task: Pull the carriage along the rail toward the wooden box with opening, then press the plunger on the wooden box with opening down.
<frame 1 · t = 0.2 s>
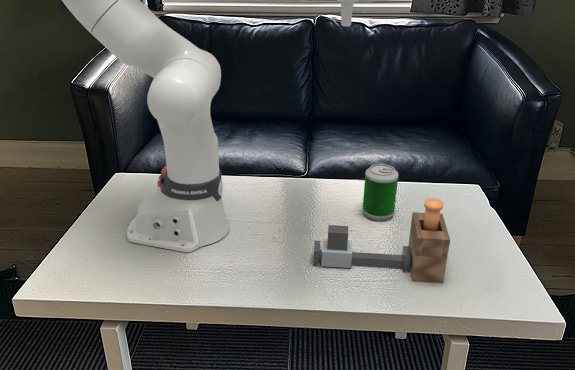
hand: (346, 20, 103), 47 cm above the table, fingers open, 8 cm apart
rail: (360, 263, 116), on the table
wooden box with opening: (424, 267, 115), on the table
plunger: (431, 216, 110), point 12 cm above the table, slide at 0.0 cm
soda can: (377, 215, 135), on the table
carriage: (337, 245, 115), point 4 cm above the table, slide at -5.0 cm
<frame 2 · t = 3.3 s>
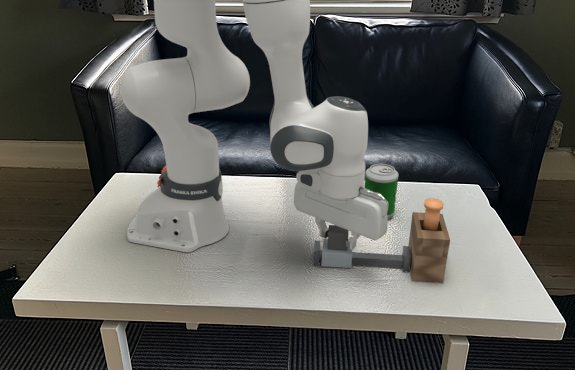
hand: (337, 241, 114), 5 cm above the table, fingers closed on carriage, 5 cm apart
carriage: (337, 245, 115), point 4 cm above the table, slide at -4.9 cm, touching gripper
everything else where it was.
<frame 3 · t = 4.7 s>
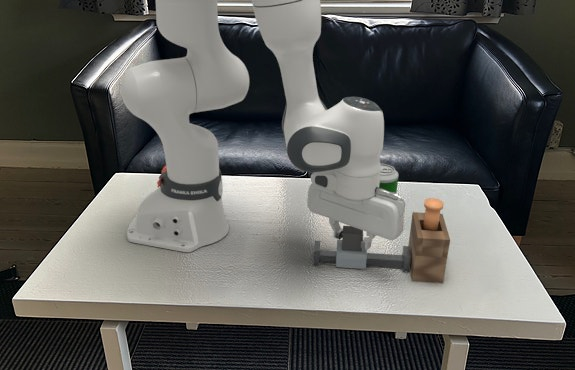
hand: (351, 242, 114), 5 cm above the table, fingers closed on carriage, 5 cm apart
carriage: (351, 245, 115), point 4 cm above the table, slide at -2.0 cm, touching gripper
everything else where it was.
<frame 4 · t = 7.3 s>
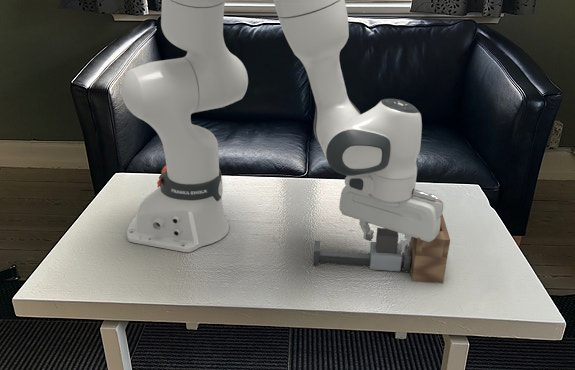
hand: (385, 244, 114), 5 cm above the table, fingers open, 6 cm apart
carriage: (386, 248, 114), point 4 cm above the table, slide at 4.8 cm
everything else where it was.
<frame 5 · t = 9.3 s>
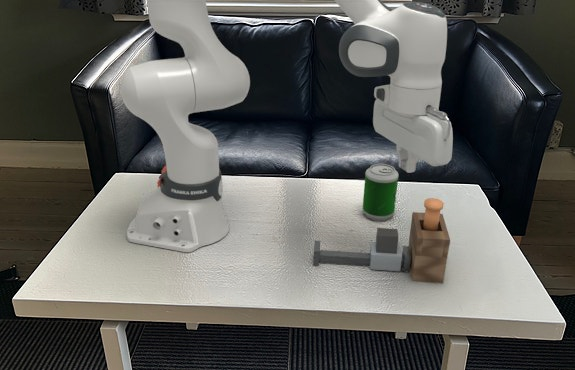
hand: (406, 169, 106), 22 cm above the table, fingers closed
nothing on the table moved.
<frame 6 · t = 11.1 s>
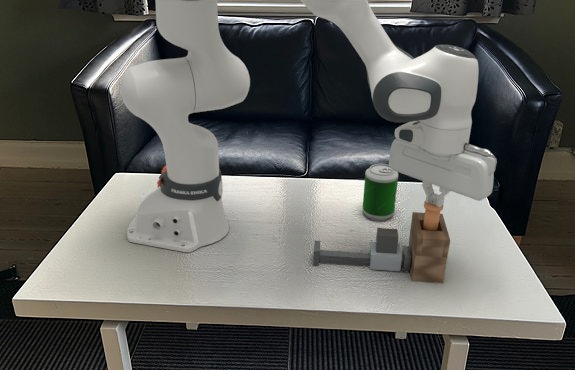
hand: (434, 204, 108), 15 cm above the table, fingers closed
plunger: (431, 217, 110), point 12 cm above the table, slide at 0.2 cm, touching gripper
everything else where it was.
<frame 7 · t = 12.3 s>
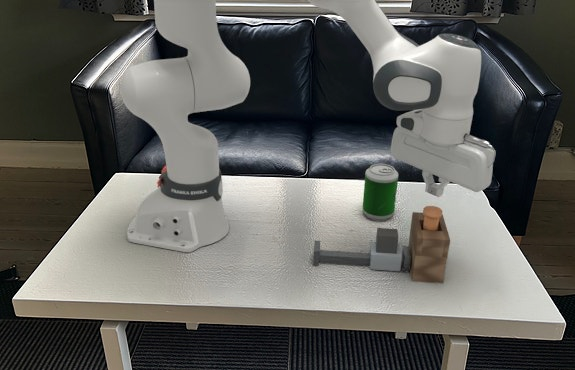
hand: (433, 193, 108), 17 cm above the table, fingers closed
plunger: (430, 224, 111), point 10 cm above the table, slide at 1.7 cm
everything else where it was.
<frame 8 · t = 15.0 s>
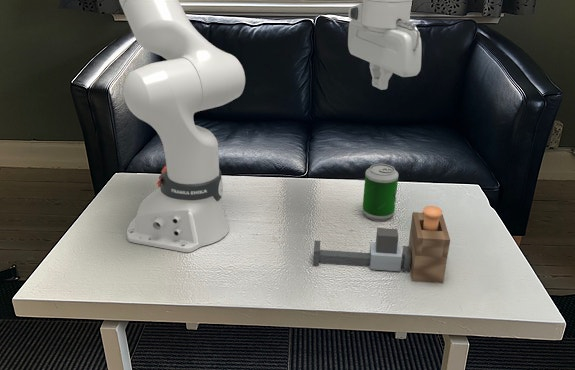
hand: (379, 87, 110), 34 cm above the table, fingers closed
nothing on the table moved.
at the end: carriage slide at 4.8 cm; plunger slide at 1.7 cm; the gripper is holding nothing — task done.
